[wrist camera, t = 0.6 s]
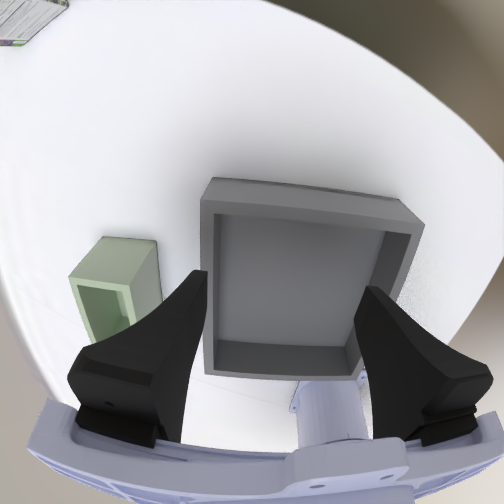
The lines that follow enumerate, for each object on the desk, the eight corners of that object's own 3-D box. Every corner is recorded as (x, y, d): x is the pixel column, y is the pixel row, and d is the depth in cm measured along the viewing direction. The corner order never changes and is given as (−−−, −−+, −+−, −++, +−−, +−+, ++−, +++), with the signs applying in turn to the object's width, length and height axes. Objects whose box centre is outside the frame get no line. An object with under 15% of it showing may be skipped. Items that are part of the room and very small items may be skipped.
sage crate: (165, 322, 28) (149, 370, 22) (119, 315, 27) (98, 359, 22) (156, 240, 23) (129, 285, 18) (102, 236, 23) (68, 276, 18)
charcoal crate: (347, 345, 29) (356, 380, 25) (211, 338, 28) (204, 374, 24) (398, 199, 20) (425, 224, 17) (212, 177, 20) (200, 199, 16)
